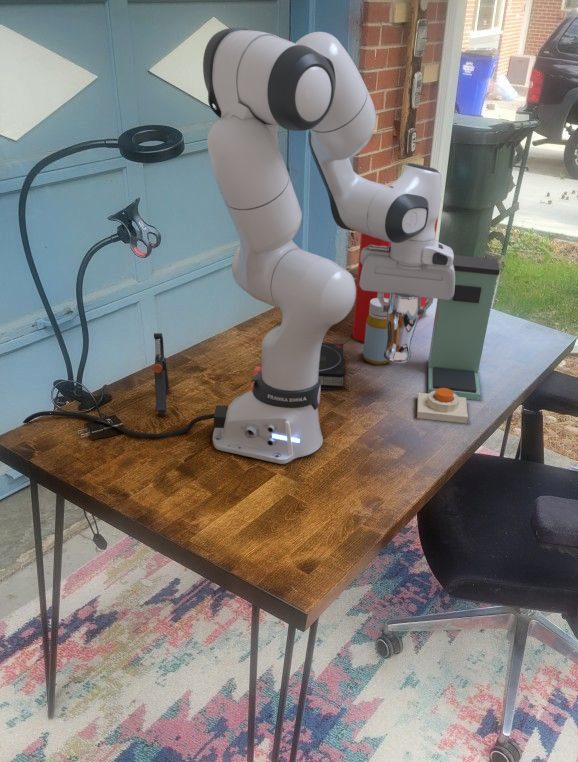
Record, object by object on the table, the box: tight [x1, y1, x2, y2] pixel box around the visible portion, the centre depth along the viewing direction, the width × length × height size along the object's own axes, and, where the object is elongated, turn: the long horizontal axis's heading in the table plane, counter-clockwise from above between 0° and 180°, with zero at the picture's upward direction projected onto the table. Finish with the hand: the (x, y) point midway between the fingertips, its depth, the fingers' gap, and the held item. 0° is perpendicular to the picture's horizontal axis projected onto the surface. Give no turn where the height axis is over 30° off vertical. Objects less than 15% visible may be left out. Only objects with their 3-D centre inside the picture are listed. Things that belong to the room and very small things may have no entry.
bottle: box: [362, 298, 390, 366], centre depth 178 cm, size 7×7×15 cm
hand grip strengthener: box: [152, 332, 170, 416], centre depth 153 cm, size 2×12×15 cm, turn 9°
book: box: [352, 199, 442, 343], centre depth 191 cm, size 27×8×32 cm, turn 147°
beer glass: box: [384, 293, 421, 364], centre depth 159 cm, size 7×7×15 cm
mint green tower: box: [427, 254, 501, 401], centre depth 169 cm, size 13×18×27 cm
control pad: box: [416, 391, 469, 424], centre depth 163 cm, size 11×9×4 cm
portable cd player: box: [319, 342, 345, 391], centre depth 173 cm, size 16×17×4 cm
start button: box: [435, 388, 454, 403], centre depth 162 cm, size 4×4×2 cm
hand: (403, 313), depth 157 cm, fingers closed on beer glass, 7 cm apart
